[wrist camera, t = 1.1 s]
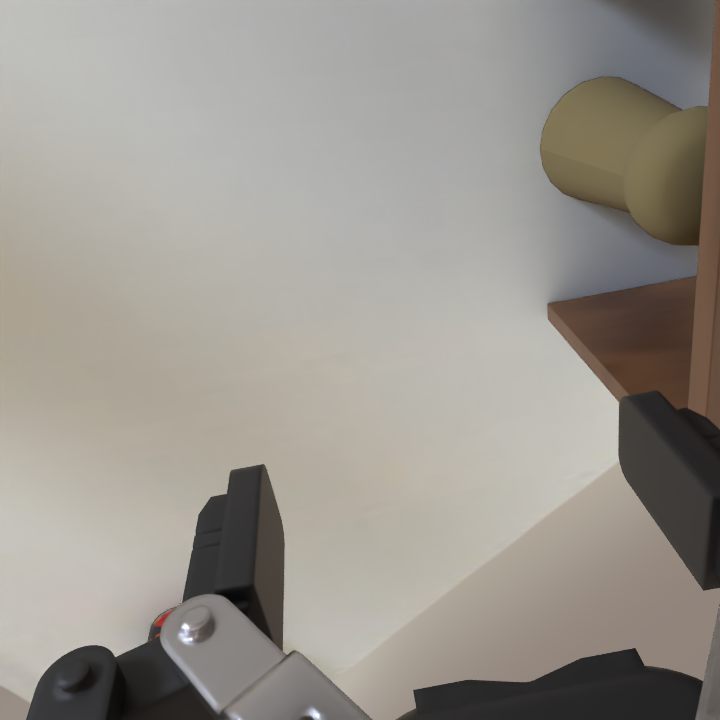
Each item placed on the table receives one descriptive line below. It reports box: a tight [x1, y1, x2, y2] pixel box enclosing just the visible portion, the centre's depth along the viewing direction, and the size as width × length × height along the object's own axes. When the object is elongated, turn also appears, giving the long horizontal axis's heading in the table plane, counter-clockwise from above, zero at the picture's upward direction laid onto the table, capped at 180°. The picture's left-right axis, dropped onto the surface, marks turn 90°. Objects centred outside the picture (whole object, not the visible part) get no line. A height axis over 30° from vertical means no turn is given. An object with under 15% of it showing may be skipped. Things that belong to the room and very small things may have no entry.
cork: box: [540, 77, 708, 246], centre depth 29 cm, size 6×6×11 cm
